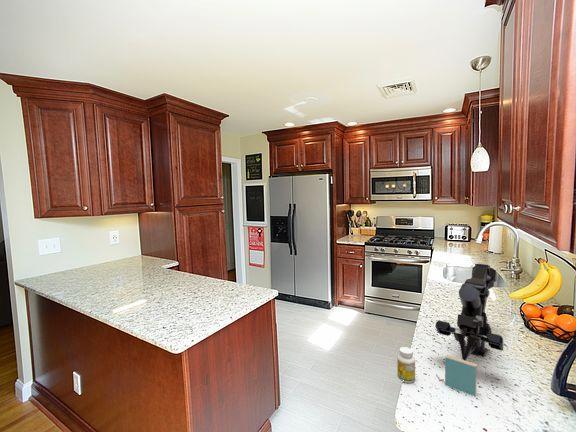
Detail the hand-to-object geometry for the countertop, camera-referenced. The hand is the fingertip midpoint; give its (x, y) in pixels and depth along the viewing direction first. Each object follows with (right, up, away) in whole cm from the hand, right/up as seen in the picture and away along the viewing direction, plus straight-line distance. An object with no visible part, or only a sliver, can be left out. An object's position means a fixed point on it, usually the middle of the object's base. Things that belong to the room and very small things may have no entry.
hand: (464, 360), depth 90 cm
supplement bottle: (-18, -7, +2) cm, 19 cm away
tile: (-3, -7, -3) cm, 8 cm away
